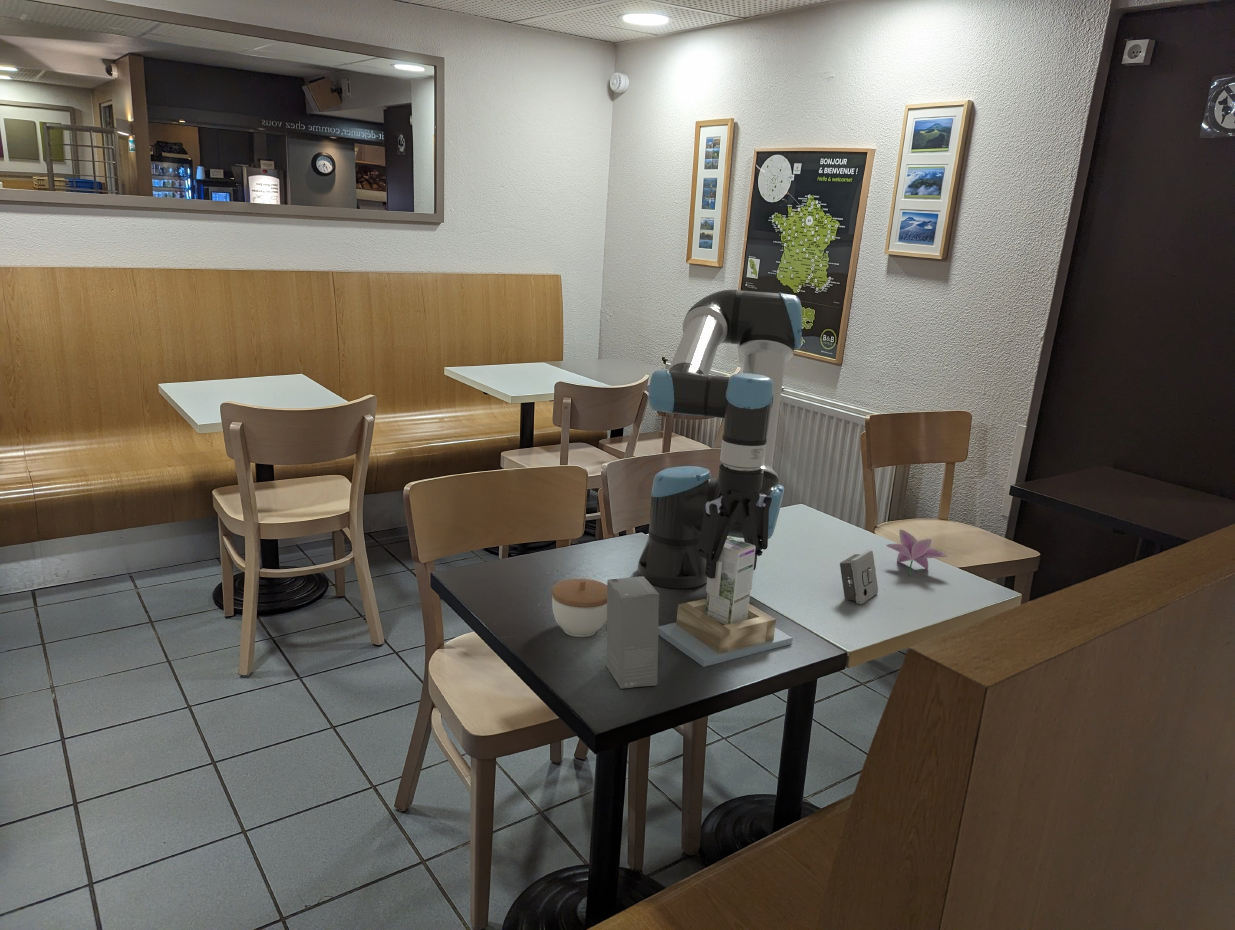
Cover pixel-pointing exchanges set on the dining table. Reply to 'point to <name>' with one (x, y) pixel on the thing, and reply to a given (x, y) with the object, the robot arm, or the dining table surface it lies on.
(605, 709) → the dining table surface
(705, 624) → the socket holder
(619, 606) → the skincare box
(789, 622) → the dining table surface
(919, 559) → the lily
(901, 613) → the dining table surface
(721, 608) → the syrup box
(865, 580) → the electrical switch
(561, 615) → the lidded jar
